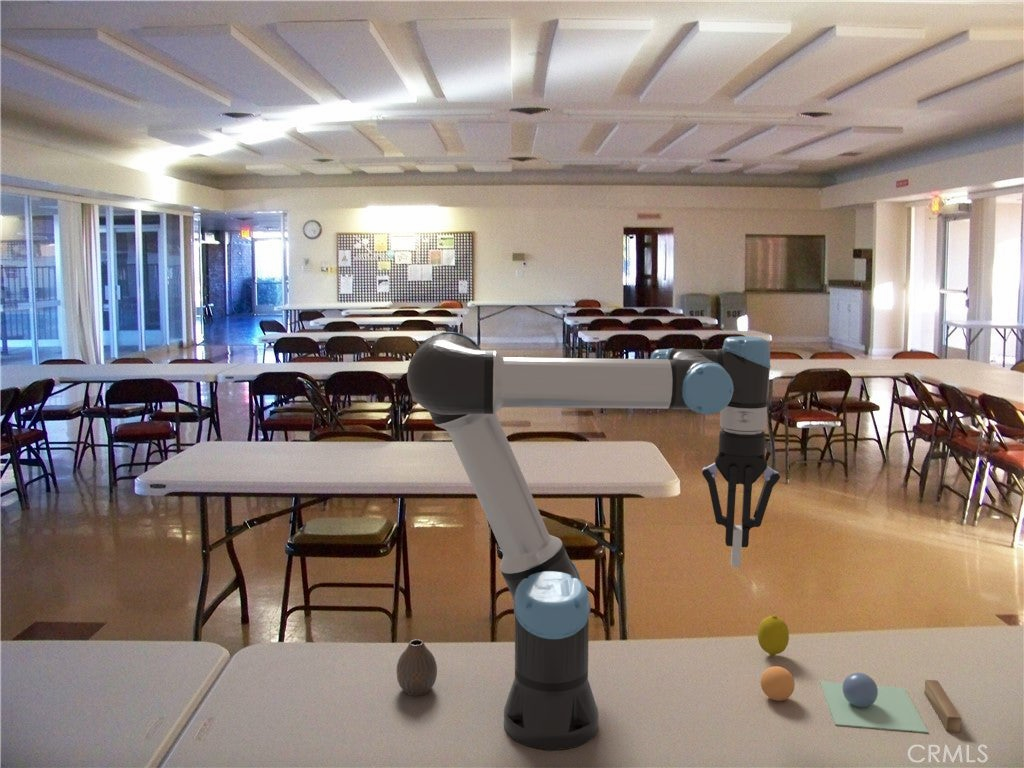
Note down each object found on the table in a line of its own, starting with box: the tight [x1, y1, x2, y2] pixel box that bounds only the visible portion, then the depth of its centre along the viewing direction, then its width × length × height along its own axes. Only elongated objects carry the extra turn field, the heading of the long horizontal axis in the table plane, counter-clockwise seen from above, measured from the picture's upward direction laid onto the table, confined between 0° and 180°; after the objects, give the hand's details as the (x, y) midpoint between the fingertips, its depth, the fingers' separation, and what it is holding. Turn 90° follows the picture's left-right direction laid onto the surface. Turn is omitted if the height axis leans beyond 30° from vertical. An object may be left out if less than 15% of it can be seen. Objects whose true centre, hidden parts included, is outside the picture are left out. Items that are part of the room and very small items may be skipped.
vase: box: [396, 639, 438, 697], centre depth 152 cm, size 7×7×9 cm
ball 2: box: [842, 672, 878, 708], centre depth 148 cm, size 6×6×6 cm
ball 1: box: [760, 665, 795, 702], centre depth 150 cm, size 6×6×6 cm
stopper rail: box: [923, 679, 962, 733], centre depth 146 cm, size 2×12×2 cm, turn 171°
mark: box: [819, 680, 929, 734], centre depth 148 cm, size 14×14×1 cm
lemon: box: [757, 614, 790, 657], centre depth 165 cm, size 6×6×8 cm
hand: (735, 564), depth 152 cm, fingers closed
